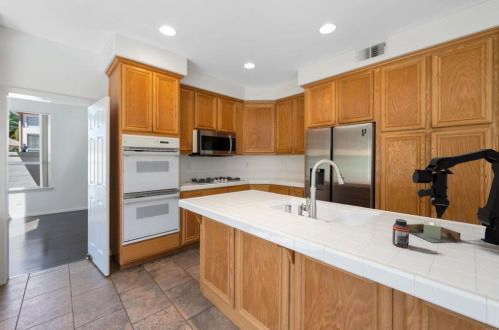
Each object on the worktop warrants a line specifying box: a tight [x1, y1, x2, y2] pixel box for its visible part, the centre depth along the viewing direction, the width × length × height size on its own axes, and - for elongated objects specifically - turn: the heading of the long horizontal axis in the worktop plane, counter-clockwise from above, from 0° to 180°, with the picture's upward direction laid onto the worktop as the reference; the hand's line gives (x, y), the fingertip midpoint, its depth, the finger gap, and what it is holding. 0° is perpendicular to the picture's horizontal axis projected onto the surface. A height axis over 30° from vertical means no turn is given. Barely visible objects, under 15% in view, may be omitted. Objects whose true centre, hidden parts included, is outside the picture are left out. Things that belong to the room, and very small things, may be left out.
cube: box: [423, 221, 442, 240], centre depth 106 cm, size 6×6×6 cm
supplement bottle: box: [392, 218, 410, 248], centre depth 96 cm, size 6×6×11 cm
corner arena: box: [406, 223, 462, 244], centre depth 107 cm, size 14×14×4 cm
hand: (438, 216), depth 105 cm, fingers open, 9 cm apart
